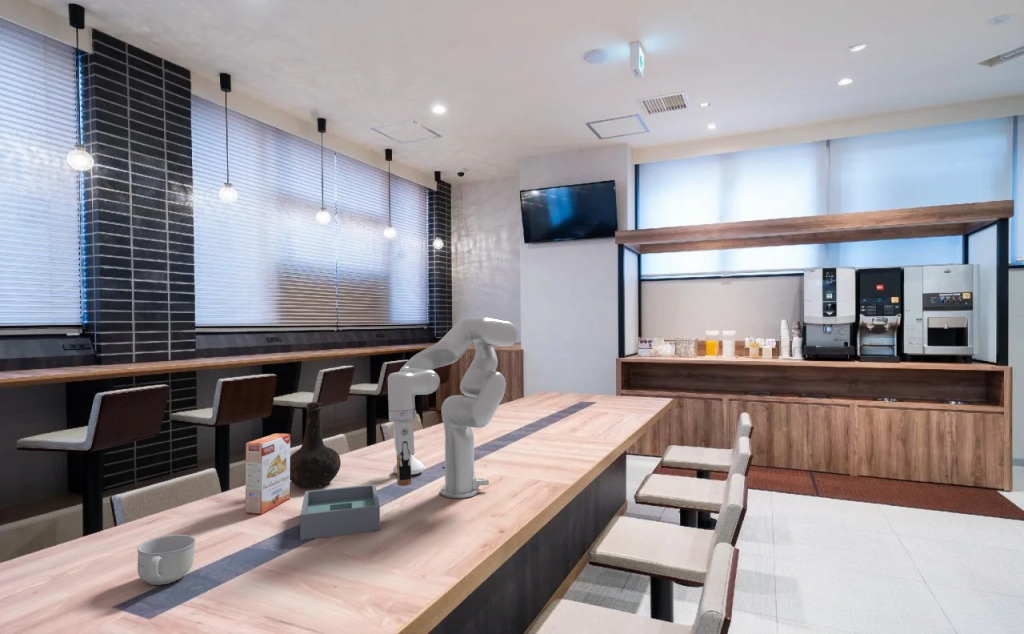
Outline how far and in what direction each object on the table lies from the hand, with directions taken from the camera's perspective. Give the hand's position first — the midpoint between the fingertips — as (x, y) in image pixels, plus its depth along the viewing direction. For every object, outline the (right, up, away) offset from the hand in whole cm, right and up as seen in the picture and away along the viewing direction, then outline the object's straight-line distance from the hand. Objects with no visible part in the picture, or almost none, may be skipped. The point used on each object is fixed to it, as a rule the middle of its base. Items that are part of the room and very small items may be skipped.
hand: (404, 476), depth 158 cm
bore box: (-17, -11, -6) cm, 21 cm away
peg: (0, -2, 0) cm, 2 cm away
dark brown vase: (-37, -11, +29) cm, 48 cm away
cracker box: (-43, -11, +7) cm, 45 cm away
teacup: (-45, -11, -40) cm, 61 cm away
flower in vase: (-6, -11, +42) cm, 43 cm away
